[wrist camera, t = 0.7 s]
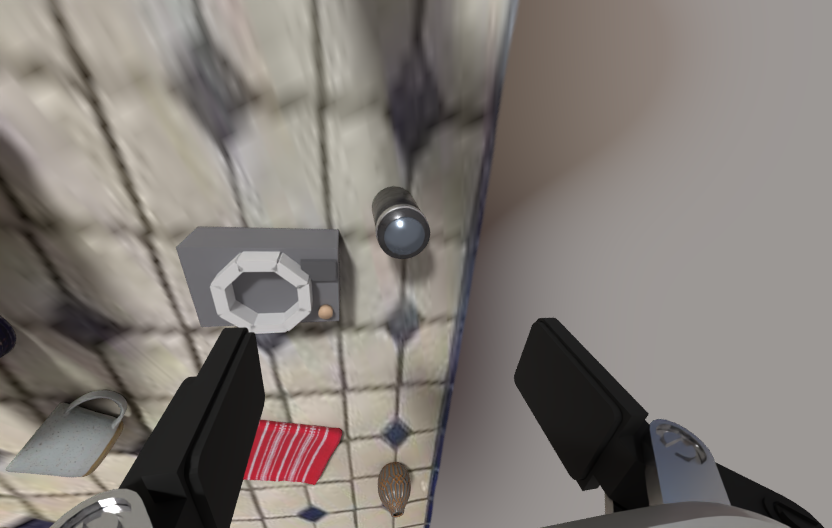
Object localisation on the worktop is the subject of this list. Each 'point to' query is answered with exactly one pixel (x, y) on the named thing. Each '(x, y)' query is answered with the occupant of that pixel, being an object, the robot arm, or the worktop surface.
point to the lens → (399, 223)
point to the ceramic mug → (71, 439)
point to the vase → (394, 488)
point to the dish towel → (291, 452)
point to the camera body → (262, 276)
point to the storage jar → (6, 337)
